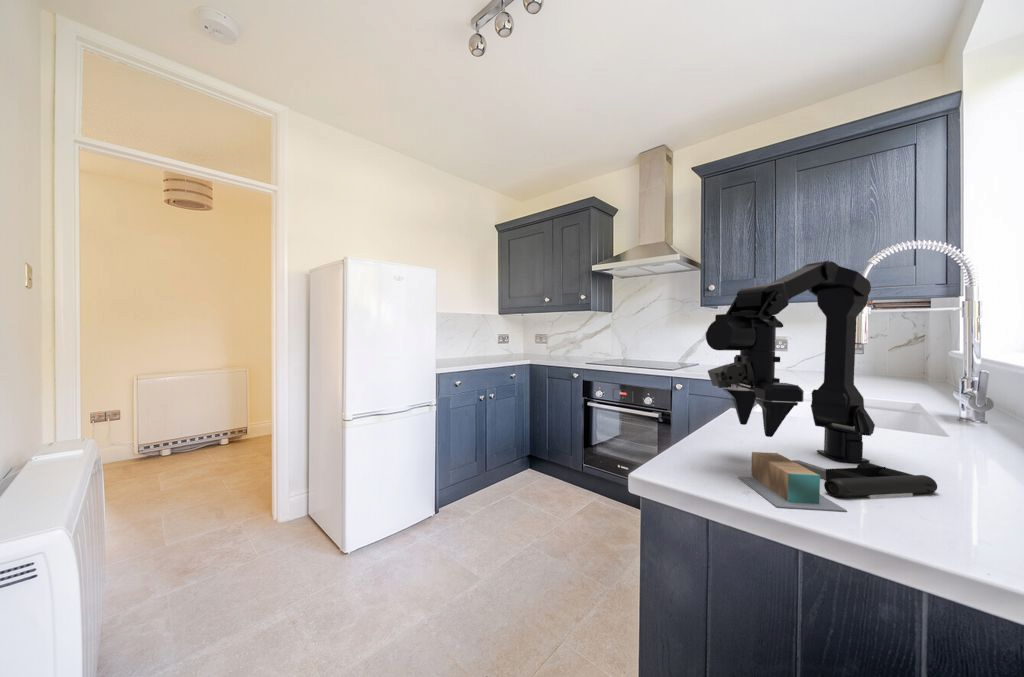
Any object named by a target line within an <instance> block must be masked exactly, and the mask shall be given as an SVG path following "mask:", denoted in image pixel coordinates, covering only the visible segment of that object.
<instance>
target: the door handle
mask: <svg viewBox="0 0 1024 677" xmlns="http://www.w3.org/2000/svg"><path fill="white" fill-rule="evenodd" d="M790 460H791V459H790ZM791 461H793V462H795V463H797V464H799V465H801V466H803V467H805V468H807V469H808V470H810V471H812V472H814V473H816V474H818V475H820V480H823V479H824V481H825V482H824V483H823V486H824V489H825V492H826V493H827V494H828V495H830V496H832V497H837V498H839V499H840V498H843V499H844V498H861V497H863V498H865V497H866V498H868V499H884V498H885V499H886V498H887V499H888V498H904V497H905V498H906V497H913V495H921V494H923V495H924V494H932V493H935V494H936V493H937V492H936V491H937V489H938V484H937V481H936V480H935V479H933V477H930V476H928V475H924V474H918V475H917V474H912V473H907V472H904V471H899V470H896V469H892V468H888V467H886V466H882V465H881V466H880V465H878V464H873V463H859V464H858V465H857V466H856V467H846V468H844V467H841V468H824V467H821V466H818V465H815V464H812V463H808V462H806V461H802V460H797V459H794V460H793V459H792V460H791Z"/></svg>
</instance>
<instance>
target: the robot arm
mask: <svg viewBox="0 0 1024 677" xmlns="http://www.w3.org/2000/svg"><path fill="white" fill-rule="evenodd" d="M871 285H872V284H871V282H870V281H869V279H867V278H866V277H865V276H864V275H863V274H861V273H860V272H859V271H857V270H853V269H850V268H846V267H843V266H840V265H838V264H837V263H836V262H834V261H830V260H825V261H818V262H812V263H807V264H806V265H803V266H802V267H801V268H799V269H797V270H794V271H793V272H791V273H788V274H786V275H784V276H782V277H780V278H778V279H776V280H774V281H771V282H769V283H765V284H759V285H752V286H748V287H743V288H741V289H739V290H738V291H737V293H736V297H735V298H734V300H733V302H732V303H731V305H730V306H729V308H728V310H726V313H722V314H721V313H720V314H715V316H714V317H715V318H714V321H712V322H711V323H710V325H709V326H708V327H707V330H706V332H705V340H706V343H707V345H708V346H709V347H710V348H711V349H712V350H715V351H739V352H740V353H739V354H735V356H734V357H733V362H731V363H727V364H724V365H720V366H716V367H713V368H711V369H708V370H707V374H708V376H709V379H710V382H711V385H712V386H713V387H717V388H719V389H722V391H723V392H725V393H726V394H727V395H728V396H730V397H731V399H732V402H733V405H734V408H735V411H736V415H737V418H738V421H739V424H740V425H744V426H746V425H747V424H748V421H749V419H750V417H751V413H752V410H753V408H754V405H755V402H756V403H757V404H758V405H759V406H760V408H761V414H762V420H763V421H762V422H763V429H764V430H763V431H764V436H765V437H767V438H773V436H774V435H775V434H776V433H777V430H778V429H779V427H780V426H781V424H782V423H783V421H784V420H785V419H786V417H787V416H788V415H789V413H790V412H791V411H792V410H793V408H794V407H795V406H796V407H797V406H798V405H799V403H803V402H804V394H805V393H804V392H805V391H804V390H803V389H802V388H801V387H800V386H799V385H798V384H793V383H788V382H780V378H778V377H775V372H776V370H775V368H776V363H781V356H777V355H776V338H777V334H776V333H777V332H776V331H777V328H778V329H779V328H780V329H782V328H783V327H784V323H783V322H782V321H780V320H778V319H777V317H776V316H775V315H778V314H780V313H781V312H782V311H784V309H786V308H787V307H788V306H789V305H790V302H789V301H791V299H793V298H794V297H796V296H798V295H800V294H803V293H804V292H806V291H808V292H809V293H811V294H812V295H813V296H815V297H816V302H817V307H818V308H819V309H820V311H821V312H822V313H823V314H824V316H825V318H826V319H825V339H824V340H825V343H824V345H825V346H824V371H823V382H822V384H821V385H820V386H819V387H818V389H815V388H814V389H813V390H812V391H811V404H810V408H811V413H812V418H813V422H814V426H815V427H820V428H824V439H823V449H822V450H821V449H816V453H817V452H818V454H820V455H822V456H825V457H826V458H829V459H831V460H833V461H836V462H840V463H841V462H844V463H845V462H846V463H859V464H861V463H870V460H868V459H866V458H863V453H864V451H863V450H864V441H863V436H869V437H870V436H871V437H872V435H873V434H874V431H875V426H876V425H875V423H874V421H873V419H872V418H871V416H870V415H869V413H868V412H867V410H866V409H865V400H864V396H863V395H862V394H861V393H860V390H858V388H857V387H856V385H855V383H854V382H855V363H856V336H857V334H856V333H857V317H858V316H859V315H860V313H862V311H863V310H864V309H865V308H866V307H867V305H868V300H869V296H870V292H871V291H872V290H871V289H872V286H871ZM870 464H871V463H870Z"/></svg>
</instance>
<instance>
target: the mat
mask: <svg viewBox="0 0 1024 677" xmlns="http://www.w3.org/2000/svg"><path fill="white" fill-rule="evenodd" d="M737 479H738V480H740V481H742V482H743V483H745V484H746V485H747V486H748V487H750V488H751V489H752V490H754V491H755V492H756V493H757V494H759V495H760V496H761V497H762V498H763V499H765V500H766V501H767V502H769V503H770V504H771V505H772V506H774V507H775V508H779V509H793V510H794V509H795V510H810V511H811V510H813V511H828V512H842V513H843V512H845V513H848V510H847V509H845V508H844V507H842V506H841V505H838V503H835V502H834V501H832V500H830V499H829V498H827V497H825V496H824V495H822V494H820V496H819V504H810V503H793V502H788V501H786V500H785V499H783V498H782V497H781V496H779V495H778V494H776V493H775V492H773V491H772V490H771V489H769V488H768V487H766V486H765V485H764V484H762V483H761V482H759V481H758V480H757V479H755V478H754V477H752V476H750V477H749V476H737Z"/></svg>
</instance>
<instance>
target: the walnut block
mask: <svg viewBox="0 0 1024 677" xmlns="http://www.w3.org/2000/svg"><path fill="white" fill-rule="evenodd" d="M750 468H751V473H750V474H751V475H750V477H754V478H755V479H757V480H758V481H759V482H761V483H762V484H764V485H765V486H766V487H768V488H769V489H771V490H772V491H773V492H775V493H776V494H778V495H779V496H781V497H782V498H783V499H785V500H786V501H788V502H793V503H810V504H819V496H820V495H821V493H820V492H821V491H820V490H821V486H820V485H821V478H820V475H818V474H816V473H814V472H812V471H810V470H808V469H807V468H805V467H803V466H801V465H799V464H797V463H795V462H793V461H791V459H789V458H788V457H786V456H784V455H782V454H780V453H777V452H763V451H762V452H761V451H752V452H751V467H750Z"/></svg>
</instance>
